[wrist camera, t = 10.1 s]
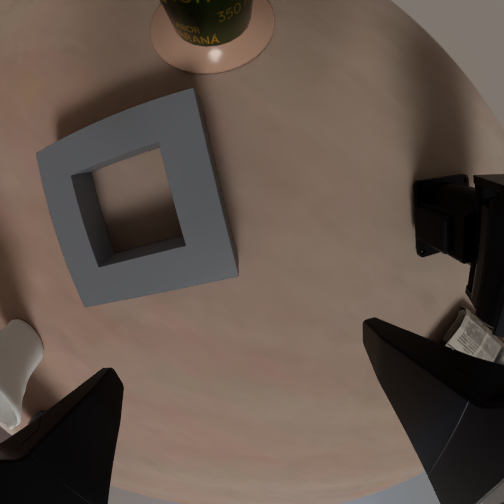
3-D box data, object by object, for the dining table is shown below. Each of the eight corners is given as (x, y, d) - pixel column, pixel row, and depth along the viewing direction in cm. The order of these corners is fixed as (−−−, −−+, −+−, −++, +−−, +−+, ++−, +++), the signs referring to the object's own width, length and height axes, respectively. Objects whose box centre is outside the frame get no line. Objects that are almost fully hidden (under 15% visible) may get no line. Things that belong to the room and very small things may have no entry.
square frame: (199, 97, 17) (193, 87, 14) (238, 260, 21) (238, 276, 18) (57, 151, 18) (36, 153, 15) (99, 290, 21) (84, 307, 18)
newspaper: (521, 363, 31) (531, 373, 28) (481, 412, 34) (490, 423, 31) (454, 297, 24) (473, 313, 21) (384, 385, 27) (396, 406, 24)
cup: (24, 369, 24) (-12, 421, 15) (-8, 304, 21) (-59, 349, 12) (73, 375, 24) (36, 440, 15) (37, 301, 21) (-22, 358, 12)
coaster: (258, -26, 14) (259, -29, 13) (287, 61, 17) (288, 60, 16) (145, -2, 14) (144, -4, 14) (161, 89, 17) (159, 87, 16)
